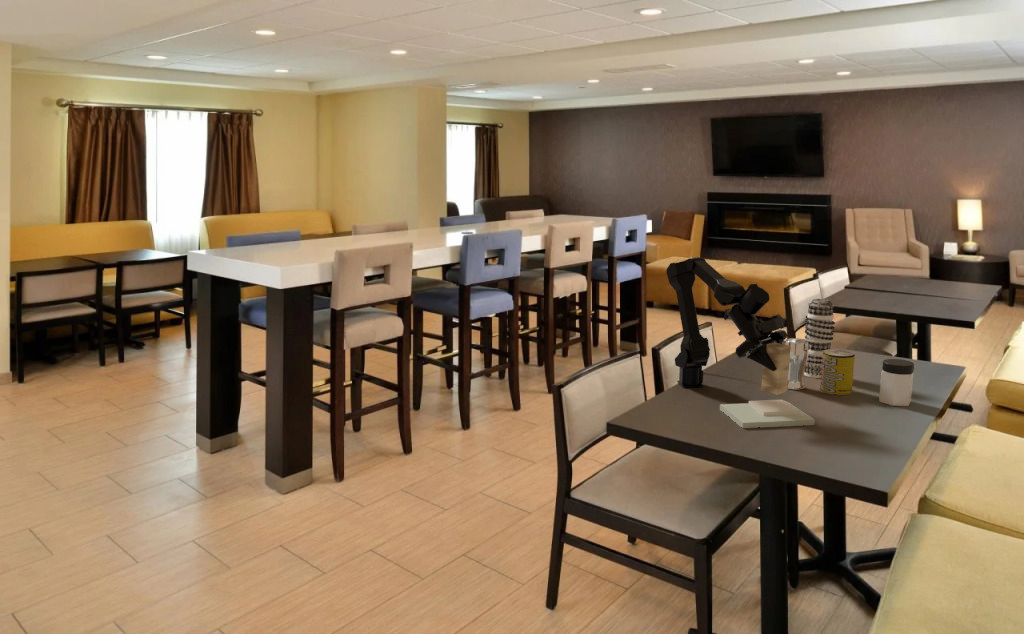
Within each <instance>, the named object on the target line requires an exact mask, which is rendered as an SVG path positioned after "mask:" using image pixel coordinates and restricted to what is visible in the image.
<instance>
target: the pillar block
mask: <svg viewBox="0 0 1024 634" xmlns="http://www.w3.org/2000/svg"><path fill="white" fill-rule="evenodd" d="M790 349H791V346H789V345H785V343H782V344H779V343H770V344H767V353H768V355H769V356H770V358H771V360H772V361H773V363H774V365H775V367H776V370H775V371H772V370H770V369H768V368H767V367H765V366H763V365H762V370H761V371H762V372H761V385H760V387H761V388H760V391H762V392H765V393H769V394H773V395H776V396H777V395H781V394H784V393H786V392H788V389H787V386H788V373H789V361H790Z"/></svg>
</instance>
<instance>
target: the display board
mask: <svg viewBox="0 0 1024 634" xmlns="http://www.w3.org/2000/svg"><path fill="white" fill-rule="evenodd" d="M719 410H720V411H721V412H722V413H723V412H724V413H723V414H725V415H726V416H727V417H728V416H729V417H730V418H729V417H728V418H729V419H731V421H733V422H734V423H735V422H736V423H735V424H737V425H738V426H739V427H740V428H741V427H742V428H741V429H754V428H758V427H760V428H775V427H776V428H777V427H796V426H797V427H799V426H803V425H804V426H815V420H816V419H814V418H813V417H812V416H810V415H808V414H807V413H805V412H804V411H803V410H801V409H800V408H798V407H796V406H794V405H793V404H792V403H790V402H789V401H785V400H784V399H764V400H748V402H746V403H745V402H743V403H722V404H721V403H720V404H719Z"/></svg>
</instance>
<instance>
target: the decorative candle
mask: <svg viewBox="0 0 1024 634" xmlns="http://www.w3.org/2000/svg"><path fill="white" fill-rule="evenodd" d="M807 305H808V311H807V315H805V320H804V322H805V323H806V324H805V325H804V328H805V329H804V333H805V335H804V339H805V340H808V360H807V365H806V369H805V373H804V377H805V376H806V377H808V378H812V379H813V378H815V379H821V370H822V357H823V351H824V350H829V349H831V346H832V345H831V343H832V342H833V340H834V337H833V336H834V335H835V334H834V332H833V331H832V330H834V329H835V328H836V327H835V326H834V325H835V324H836V322H835V321H834V307H835V306H836V305H835V304H833V301H831V300H830V299H827V298H826V299H824V298H814V299H812V300H811V301H810V302H809V303H808V304H807Z"/></svg>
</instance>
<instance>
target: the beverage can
mask: <svg viewBox="0 0 1024 634" xmlns="http://www.w3.org/2000/svg"><path fill="white" fill-rule="evenodd" d="M855 358H856V354H855V352H854V351H850V350H846V349H837V348H836V349H835V348H834V349H833V348H830V349H829V350H824V351H823V357H822V370H821V378H820V384H819V390H820V392H822V393H825V394H828V393H830V394H829V395H833V394H838V395H837V396H846V394H848V395H851V394H852V392H853V381H854V370H855V369H854V368H855Z"/></svg>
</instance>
